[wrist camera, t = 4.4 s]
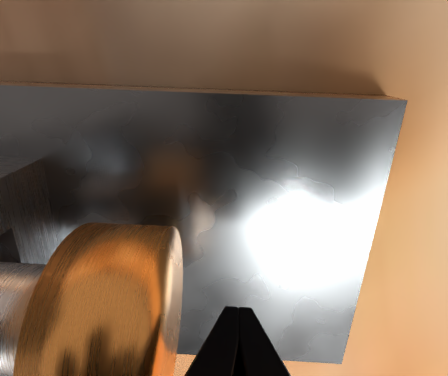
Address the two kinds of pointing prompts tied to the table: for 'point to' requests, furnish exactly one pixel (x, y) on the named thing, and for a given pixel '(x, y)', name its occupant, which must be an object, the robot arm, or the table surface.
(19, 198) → the bearing frame
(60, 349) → the shaft
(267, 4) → the table surface
